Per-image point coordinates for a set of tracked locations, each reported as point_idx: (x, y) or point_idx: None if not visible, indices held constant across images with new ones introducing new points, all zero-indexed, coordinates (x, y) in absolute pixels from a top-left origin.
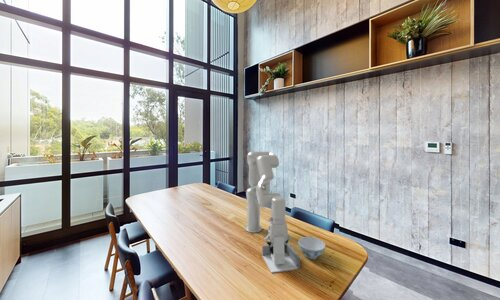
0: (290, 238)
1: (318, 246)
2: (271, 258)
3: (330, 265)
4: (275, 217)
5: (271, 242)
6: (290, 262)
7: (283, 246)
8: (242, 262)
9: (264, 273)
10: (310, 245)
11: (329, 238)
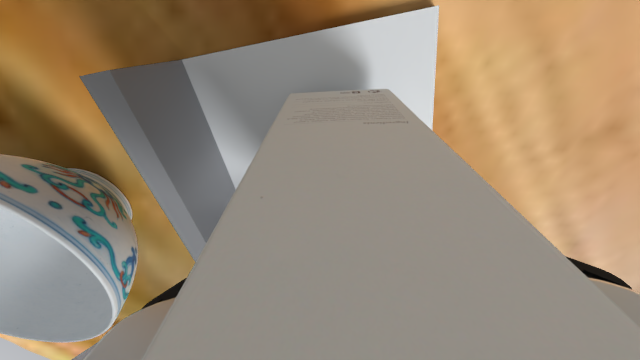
0: (78, 357)
1: (3, 257)
2: None
3: None
4: None
5: (622, 286)
6: (237, 136)
7: (259, 180)
8: (606, 172)
9: (501, 8)
10: (74, 273)
11: None
